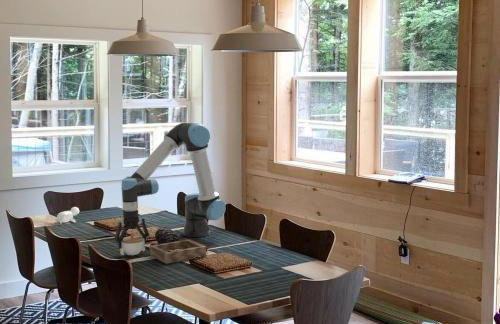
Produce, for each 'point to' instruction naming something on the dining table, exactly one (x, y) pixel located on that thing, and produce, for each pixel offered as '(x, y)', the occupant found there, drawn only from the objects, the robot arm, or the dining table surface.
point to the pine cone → (166, 235)
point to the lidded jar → (132, 244)
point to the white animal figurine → (67, 215)
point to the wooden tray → (189, 251)
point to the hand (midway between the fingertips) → (132, 252)
